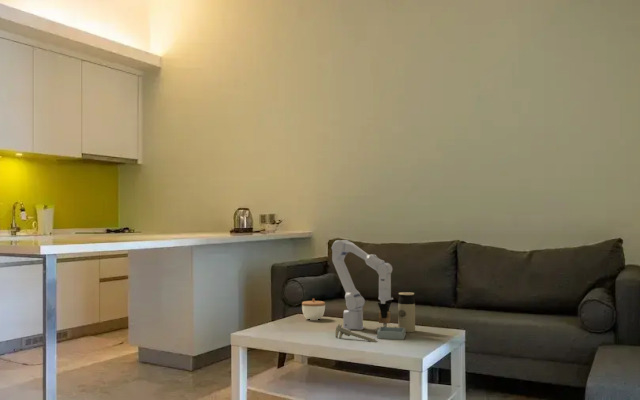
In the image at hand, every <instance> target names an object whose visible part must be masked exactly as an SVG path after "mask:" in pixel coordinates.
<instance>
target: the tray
mask: <svg viewBox="0 0 640 400" xmlns="http://www.w3.org/2000/svg"><path fill="white" fill-rule="evenodd" d="M379 327H380V328H379V330H378V331H377V332H376V335H377V336H376V338H377V339H381V340H383V339H385V340H404V339H405V337H406V334H407V332H406V328H398V327H394V326H387V327H383V326H379Z"/></svg>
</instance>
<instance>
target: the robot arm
mask: <svg viewBox="0 0 640 400" xmlns="http://www.w3.org/2000/svg"><path fill="white" fill-rule="evenodd" d="M331 251H332V253H331V254H332V255H331V260H332V264H333V265H334V268H335V271H336V273H337V275H338V278H339V280H340V282H341V286H342V287H343V290H344V292H345V295H344V299H345V305H346V308H347V309H344V310H343V316H342V317H343V319H342V320H343V321H342V322H343V323H342V325H343V326H342V328H345V329H348V330H358V331H362V330H363V329H365V325H364V316H363V315H364V308H363V307H364V306H365V304H366V300H365V298H364V297H363V296H362V295H361V292H360V291H359V290H357V288H356V286H355V284H354V282H353V279H352V276H351V274H350V271H349V269H348V267H347V265H346V262H345V258H346V256H347V254H348V253H352V254H354V255H356V256H357V257H359V258H361V259H362V260H364V262H365V265H367V266H369V267H370V268H372V269H373V270H374V271H376V273H377V274H378V297H377V298H378V300H379V302H378V303H377V305H378V307H379V312H380V311H381V317H382V318H386V317H387V312H388V311H390V307H391V304H392V303H393V302H392V300H394V297H392V283H391V281H392V277H391V276H392V273H393V266H392V264H391V263H390V262H385V260H384V259H381V258H379V257H378V256H377V255H376V254H373V253H372V254H369V253H367V252H366V251H364V250H363V249H362V248H361V247H359V246H358V245H356V244H355V243H354V242H352V241H350V240H348V239H342V240H341V239H337V240H335V241H334V242H333V243H332V245H331Z"/></svg>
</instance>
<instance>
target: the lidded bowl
mask: <svg viewBox="0 0 640 400" xmlns="http://www.w3.org/2000/svg"><path fill="white" fill-rule="evenodd" d="M315 299H316V298H312V300H305V301H302V302H301V310H302V315H303V316H304V318H305V319H306V320H307V319H310V320H309V321H319V320H318V319H320V320H321V319H322V318H323V316H324V314H325V311H326V310H325V309H326V301H322V300H315Z"/></svg>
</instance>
